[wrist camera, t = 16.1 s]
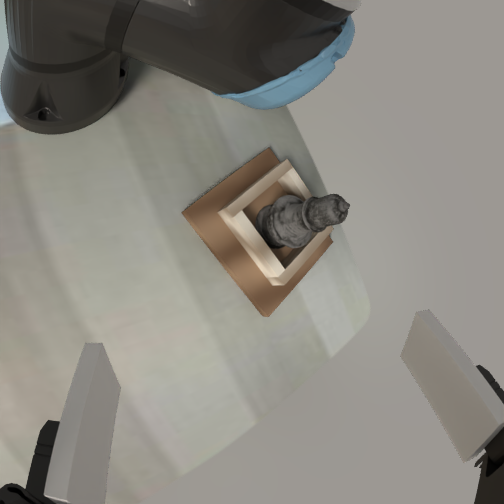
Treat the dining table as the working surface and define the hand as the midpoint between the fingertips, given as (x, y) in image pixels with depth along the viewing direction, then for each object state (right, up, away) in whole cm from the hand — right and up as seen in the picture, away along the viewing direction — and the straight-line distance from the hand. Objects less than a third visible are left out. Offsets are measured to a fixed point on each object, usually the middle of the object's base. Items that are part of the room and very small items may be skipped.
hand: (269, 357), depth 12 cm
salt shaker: (+2, +7, +26) cm, 27 cm away
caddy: (+1, +7, +26) cm, 27 cm away
